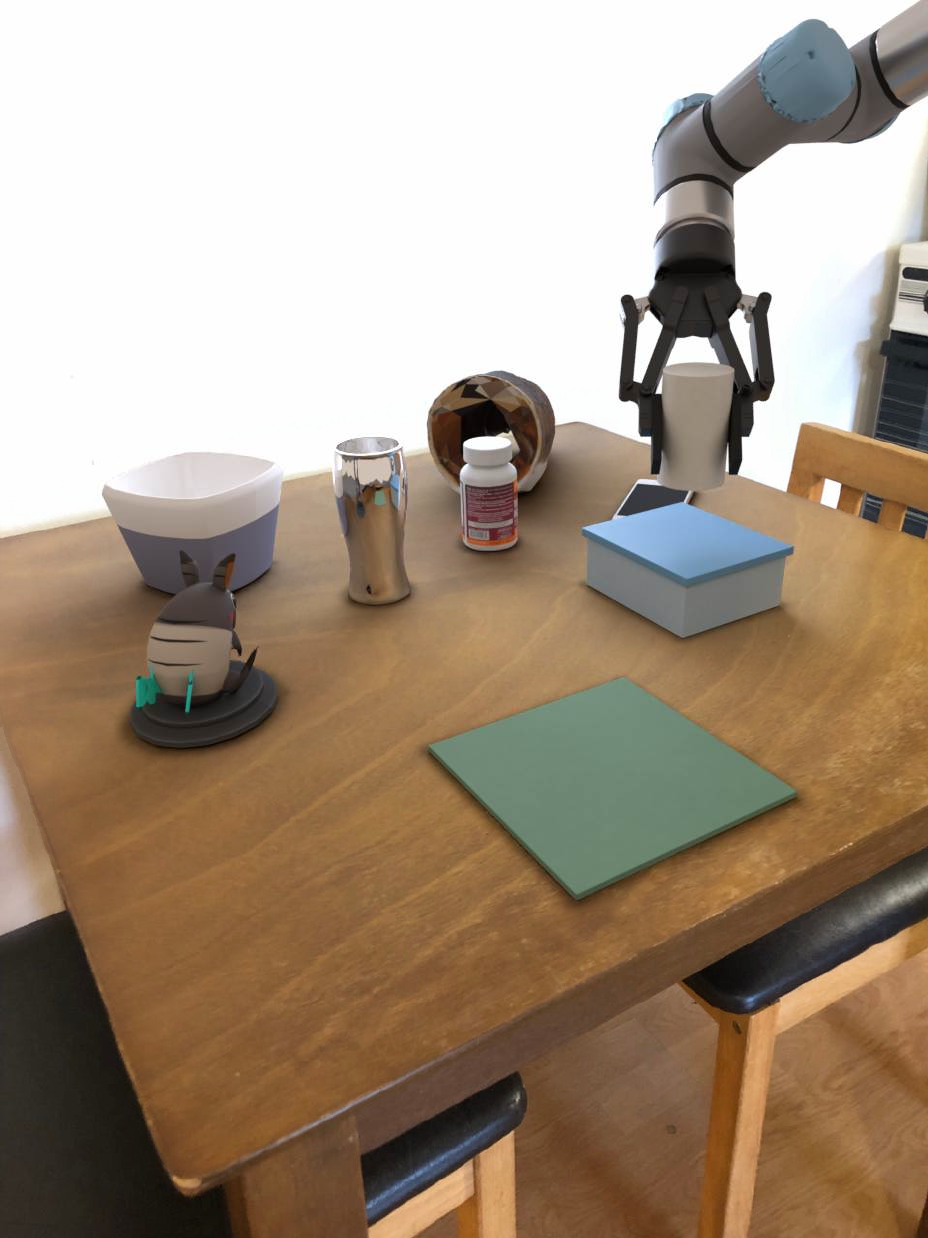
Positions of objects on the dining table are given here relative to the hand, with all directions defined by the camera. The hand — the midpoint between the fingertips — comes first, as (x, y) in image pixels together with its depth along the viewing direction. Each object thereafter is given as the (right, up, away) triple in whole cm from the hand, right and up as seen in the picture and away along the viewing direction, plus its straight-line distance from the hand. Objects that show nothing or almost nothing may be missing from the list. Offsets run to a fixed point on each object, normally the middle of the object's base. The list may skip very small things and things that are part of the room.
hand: (695, 466), depth 81 cm
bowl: (-47, -9, +18) cm, 51 cm away
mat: (-10, -24, -16) cm, 30 cm away
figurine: (-41, -20, -6) cm, 46 cm away
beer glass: (-28, -11, +12) cm, 33 cm away
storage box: (+1, -11, +10) cm, 14 cm away
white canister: (+1, -1, +4) cm, 4 cm away
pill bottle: (-17, -5, +23) cm, 29 cm away
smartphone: (+3, 0, +31) cm, 31 cm away
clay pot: (-14, +6, +45) cm, 48 cm away
